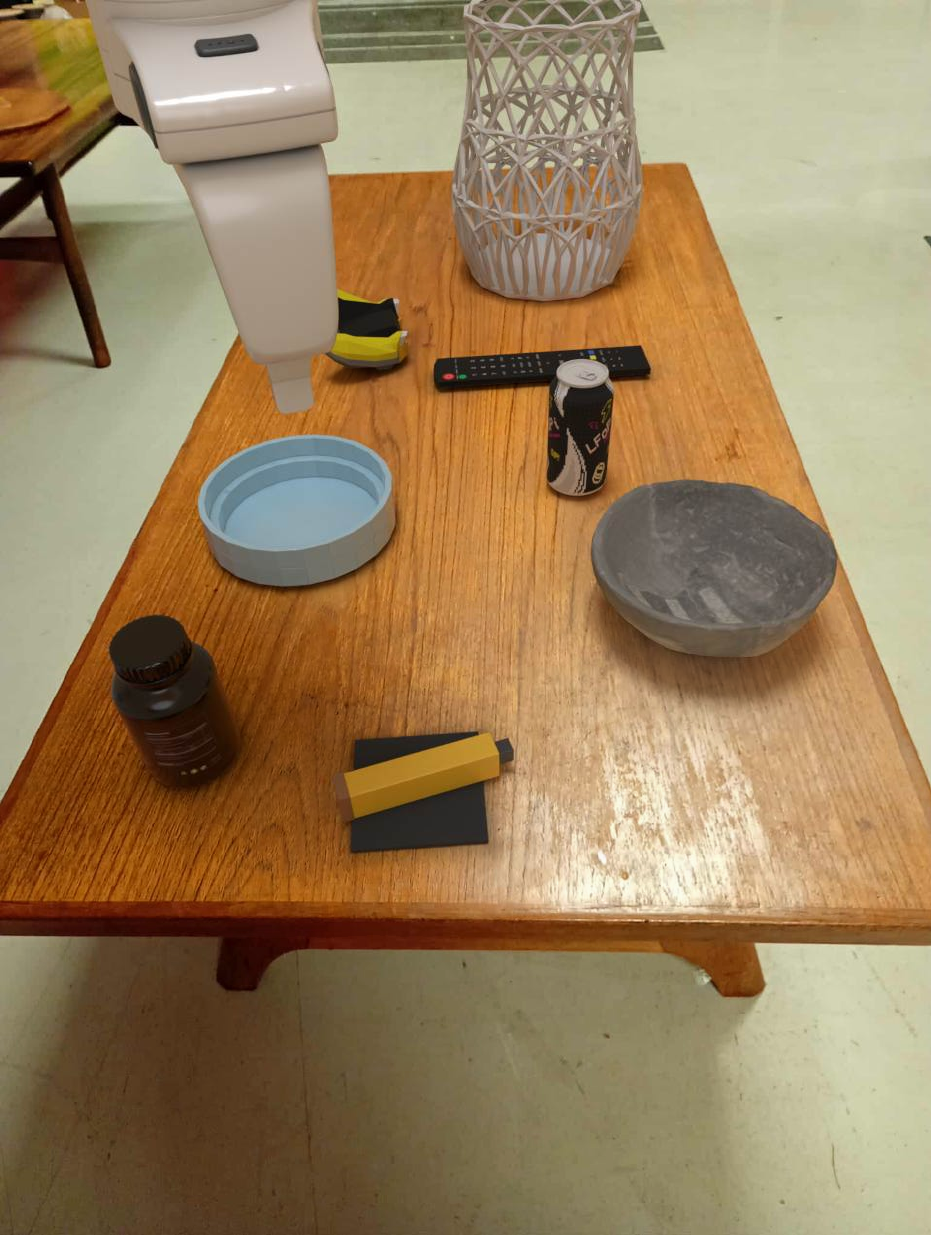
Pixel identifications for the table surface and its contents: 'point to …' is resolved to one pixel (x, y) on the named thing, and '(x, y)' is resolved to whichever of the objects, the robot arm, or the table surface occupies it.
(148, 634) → the supplement bottle
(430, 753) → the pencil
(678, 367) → the table surface
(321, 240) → the robot arm
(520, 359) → the remote control
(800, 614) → the bowl
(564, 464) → the beverage can
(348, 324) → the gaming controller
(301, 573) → the blue bowl
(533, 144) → the vase
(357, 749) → the mat
